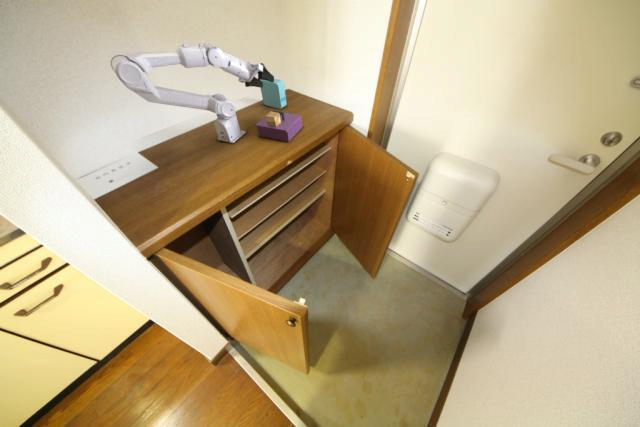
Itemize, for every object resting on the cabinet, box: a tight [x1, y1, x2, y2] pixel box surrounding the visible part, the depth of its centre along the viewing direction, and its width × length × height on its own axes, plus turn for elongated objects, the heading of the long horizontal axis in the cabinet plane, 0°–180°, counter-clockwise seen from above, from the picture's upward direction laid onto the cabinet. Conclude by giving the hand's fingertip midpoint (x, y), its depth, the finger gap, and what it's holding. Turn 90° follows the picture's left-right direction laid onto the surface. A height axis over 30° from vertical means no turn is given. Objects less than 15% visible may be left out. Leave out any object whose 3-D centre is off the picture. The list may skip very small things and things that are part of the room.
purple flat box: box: [256, 117, 303, 143], centre depth 95 cm, size 13×14×5 cm
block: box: [265, 111, 281, 127], centre depth 89 cm, size 4×4×4 cm
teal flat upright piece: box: [259, 78, 287, 110], centre depth 110 cm, size 12×4×12 cm, turn 59°
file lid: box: [255, 109, 303, 132], centre depth 91 cm, size 14×14×4 cm
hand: (267, 82), depth 92 cm, fingers open, 7 cm apart
